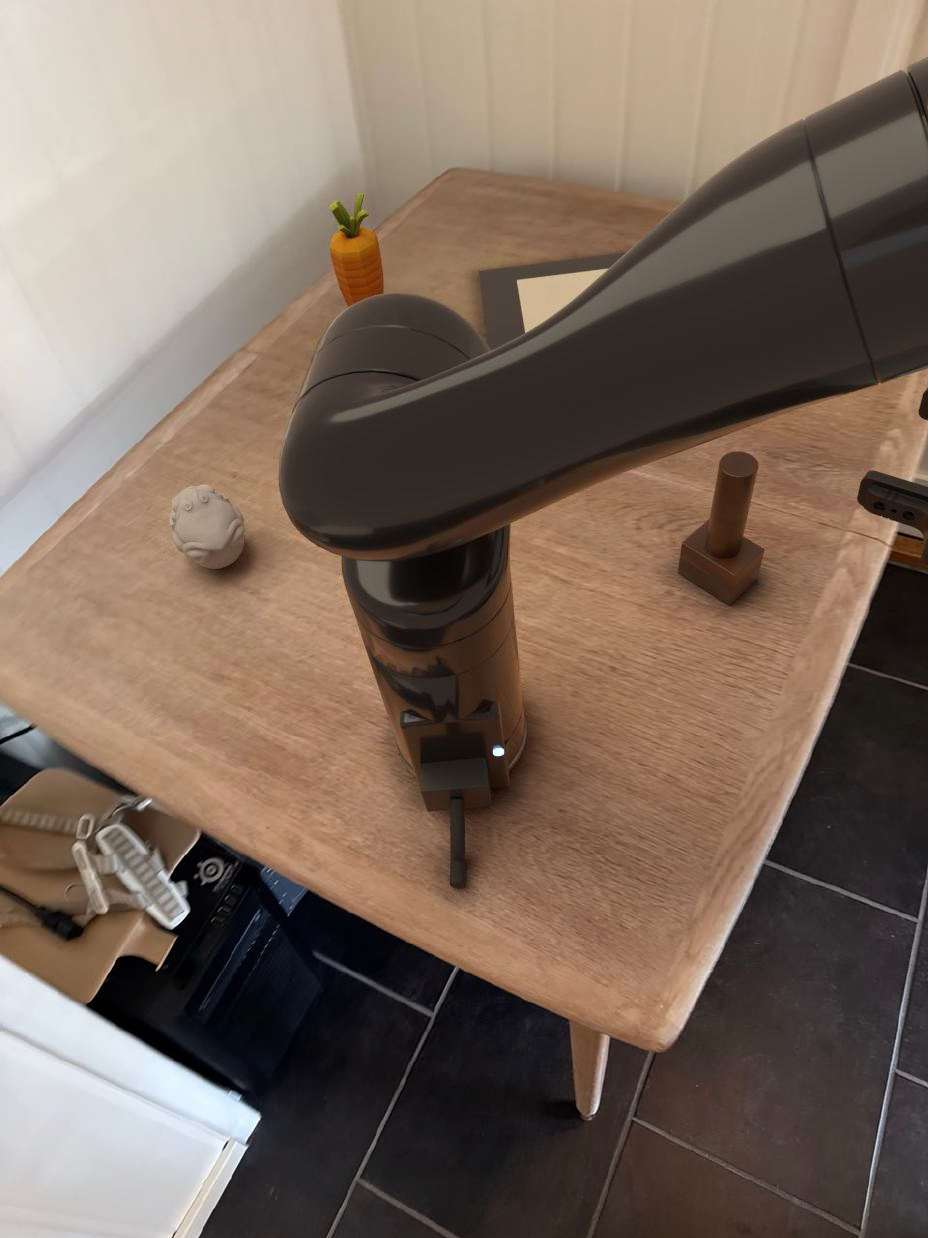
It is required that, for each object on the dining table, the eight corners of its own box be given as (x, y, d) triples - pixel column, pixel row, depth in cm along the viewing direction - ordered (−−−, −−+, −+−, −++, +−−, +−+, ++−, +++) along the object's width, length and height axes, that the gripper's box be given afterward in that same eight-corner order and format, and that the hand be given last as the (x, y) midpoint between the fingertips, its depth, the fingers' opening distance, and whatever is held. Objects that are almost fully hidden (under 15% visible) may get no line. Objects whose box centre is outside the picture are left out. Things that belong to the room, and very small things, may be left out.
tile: (678, 376, 85) (679, 366, 84) (493, 398, 86) (492, 388, 85) (638, 253, 98) (639, 243, 97) (478, 273, 99) (477, 263, 98)
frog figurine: (239, 518, 79) (213, 460, 74) (269, 565, 75) (244, 508, 70) (176, 548, 78) (145, 491, 72) (204, 598, 74) (173, 542, 68)
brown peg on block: (757, 579, 69) (786, 466, 59) (729, 606, 68) (753, 494, 58) (705, 547, 71) (725, 434, 62) (677, 572, 70) (692, 461, 61)
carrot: (387, 315, 96) (361, 178, 84) (401, 339, 93) (376, 200, 81) (344, 328, 95) (311, 192, 83) (357, 353, 92) (324, 215, 80)
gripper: (1301, 392, 43) (955, 319, 51) (1224, 583, 37) (849, 467, 46) (1228, 502, 49) (927, 421, 57) (1151, 682, 43) (830, 563, 51)
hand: (893, 441), depth 51 cm, fingers open, 8 cm apart
